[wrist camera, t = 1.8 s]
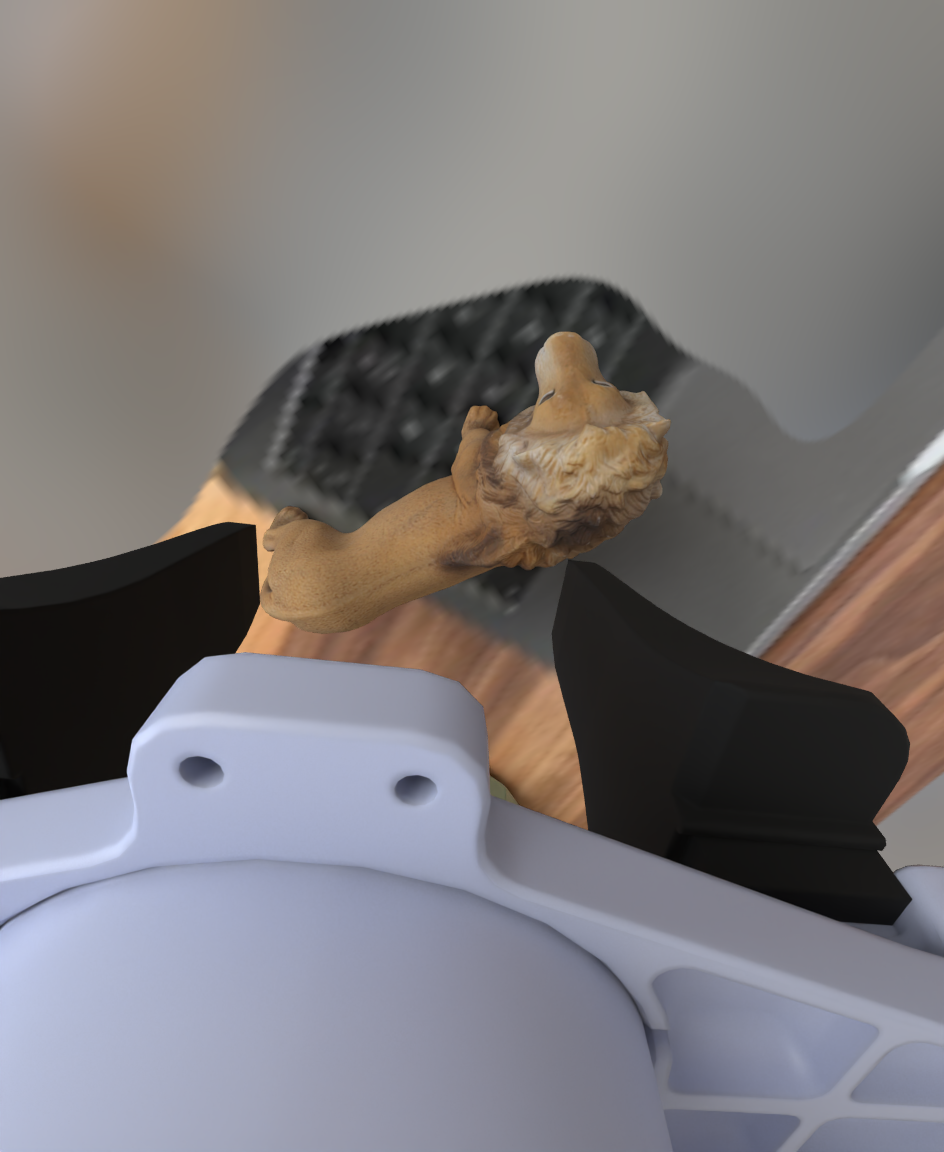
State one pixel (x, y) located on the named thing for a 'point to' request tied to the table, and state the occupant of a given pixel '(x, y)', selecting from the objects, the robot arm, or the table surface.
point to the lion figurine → (483, 502)
